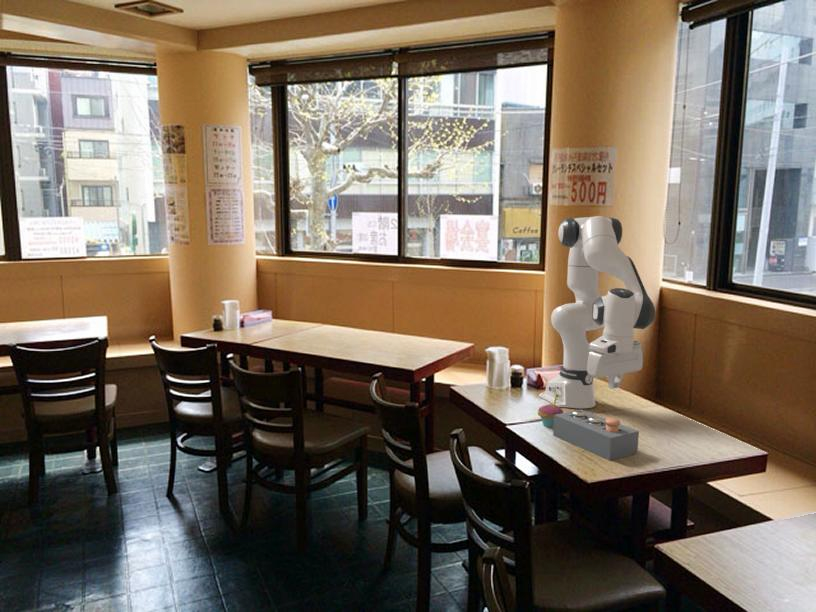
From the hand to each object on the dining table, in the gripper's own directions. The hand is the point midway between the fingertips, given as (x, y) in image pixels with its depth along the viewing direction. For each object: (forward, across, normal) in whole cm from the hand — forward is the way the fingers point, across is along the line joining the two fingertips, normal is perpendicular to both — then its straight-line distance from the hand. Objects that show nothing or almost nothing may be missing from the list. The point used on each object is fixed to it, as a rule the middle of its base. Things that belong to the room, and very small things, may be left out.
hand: (613, 387), depth 194 cm
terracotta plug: (+18, 0, +1) cm, 18 cm away
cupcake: (+21, 0, -26) cm, 33 cm away
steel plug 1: (+20, 0, -13) cm, 24 cm away
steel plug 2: (+20, 0, -6) cm, 21 cm away
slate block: (+20, 0, -6) cm, 21 cm away
